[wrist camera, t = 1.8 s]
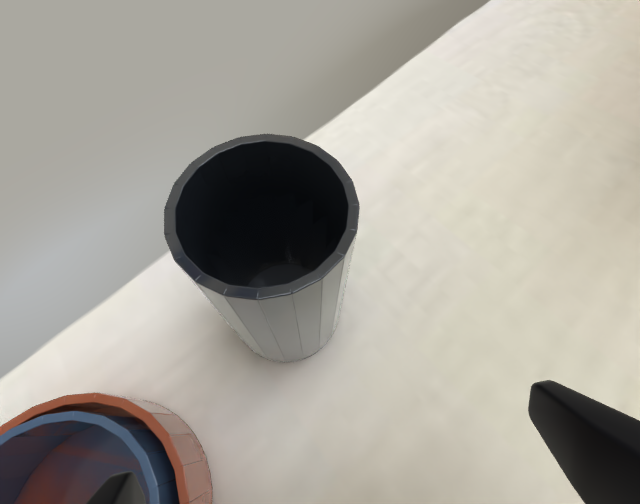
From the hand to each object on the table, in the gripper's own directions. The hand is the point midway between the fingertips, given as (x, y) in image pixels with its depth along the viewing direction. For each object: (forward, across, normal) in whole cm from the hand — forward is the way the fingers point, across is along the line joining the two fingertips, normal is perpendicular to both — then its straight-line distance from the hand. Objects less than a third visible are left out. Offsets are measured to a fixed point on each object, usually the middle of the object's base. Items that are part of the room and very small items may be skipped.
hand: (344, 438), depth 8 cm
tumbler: (+15, +1, +5) cm, 16 cm away
